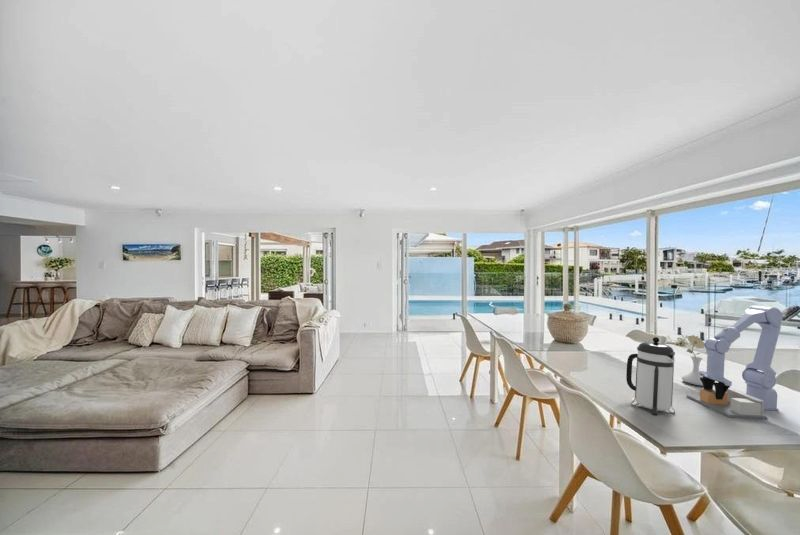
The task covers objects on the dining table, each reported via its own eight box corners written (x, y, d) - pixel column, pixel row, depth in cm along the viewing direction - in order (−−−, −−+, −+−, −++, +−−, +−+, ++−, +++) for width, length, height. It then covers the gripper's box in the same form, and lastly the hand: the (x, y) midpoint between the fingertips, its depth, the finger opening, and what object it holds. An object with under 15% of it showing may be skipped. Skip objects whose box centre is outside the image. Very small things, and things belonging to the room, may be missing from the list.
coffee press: (673, 407, 151) (677, 337, 151) (676, 420, 138) (680, 342, 138) (625, 397, 161) (628, 331, 161) (623, 408, 148) (627, 336, 148)
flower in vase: (715, 388, 180) (717, 339, 180) (690, 386, 182) (692, 337, 182) (698, 380, 193) (700, 334, 193) (674, 378, 195) (677, 332, 195)
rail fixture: (720, 399, 165) (720, 383, 165) (767, 419, 143) (768, 402, 143) (686, 397, 166) (687, 382, 166) (728, 417, 144) (729, 399, 144)
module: (718, 400, 160) (718, 389, 159) (726, 404, 155) (727, 392, 155) (699, 399, 160) (700, 388, 160) (707, 403, 155) (708, 391, 155)
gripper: (693, 361, 165) (691, 390, 165) (720, 370, 150) (718, 402, 150) (708, 361, 164) (707, 391, 165) (737, 371, 150) (735, 403, 150)
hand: (713, 396), depth 157 cm, fingers open, 5 cm apart
